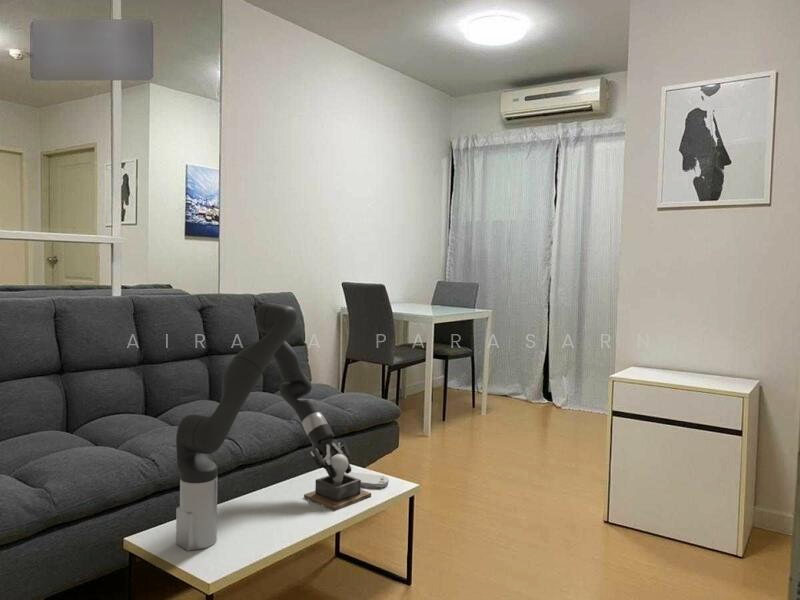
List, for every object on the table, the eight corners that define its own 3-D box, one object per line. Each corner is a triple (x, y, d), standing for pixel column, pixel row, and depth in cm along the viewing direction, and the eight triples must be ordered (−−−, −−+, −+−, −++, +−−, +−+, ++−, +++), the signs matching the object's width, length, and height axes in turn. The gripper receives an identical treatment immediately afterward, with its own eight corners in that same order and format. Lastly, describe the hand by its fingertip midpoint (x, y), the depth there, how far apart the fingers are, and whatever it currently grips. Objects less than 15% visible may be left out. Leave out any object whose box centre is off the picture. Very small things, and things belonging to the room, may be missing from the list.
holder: (334, 510, 182) (334, 492, 182) (303, 497, 191) (304, 480, 191) (371, 496, 194) (371, 479, 194) (340, 484, 203) (341, 468, 203)
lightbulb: (323, 489, 191) (325, 455, 190) (334, 483, 197) (336, 450, 196) (340, 493, 188) (342, 459, 188) (350, 487, 194) (352, 453, 193)
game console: (390, 475, 208) (384, 483, 200) (390, 482, 208) (384, 490, 200) (340, 469, 212) (332, 477, 204) (340, 476, 212) (332, 484, 204)
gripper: (306, 427, 191) (331, 474, 184) (339, 419, 201) (364, 463, 194) (294, 440, 194) (318, 486, 187) (328, 431, 205) (352, 475, 198)
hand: (341, 474), depth 191 cm, fingers open, 6 cm apart
